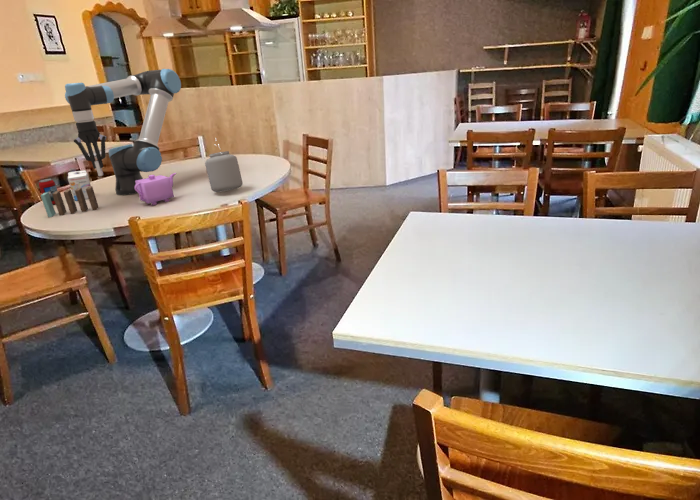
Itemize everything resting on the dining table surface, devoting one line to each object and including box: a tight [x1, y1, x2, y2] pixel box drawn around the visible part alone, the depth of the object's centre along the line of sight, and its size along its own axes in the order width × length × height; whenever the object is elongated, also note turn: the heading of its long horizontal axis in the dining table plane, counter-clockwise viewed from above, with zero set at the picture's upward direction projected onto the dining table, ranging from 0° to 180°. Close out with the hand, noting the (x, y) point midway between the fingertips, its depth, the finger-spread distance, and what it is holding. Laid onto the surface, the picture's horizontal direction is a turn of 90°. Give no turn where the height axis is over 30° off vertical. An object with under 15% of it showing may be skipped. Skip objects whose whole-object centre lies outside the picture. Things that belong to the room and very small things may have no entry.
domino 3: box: [63, 188, 78, 215], centre depth 203 cm, size 2×5×10 cm, turn 16°
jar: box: [204, 137, 244, 193], centre depth 212 cm, size 19×15×25 cm
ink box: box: [67, 170, 92, 202], centre depth 227 cm, size 9×8×13 cm
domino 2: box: [52, 190, 67, 216], centre depth 202 cm, size 2×5×10 cm, turn 16°
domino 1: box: [40, 192, 57, 218], centre depth 201 cm, size 2×5×10 cm, turn 16°
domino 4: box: [75, 188, 89, 213], centre depth 204 cm, size 2×5×10 cm, turn 16°
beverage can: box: [38, 178, 58, 206], centre depth 220 cm, size 7×7×12 cm
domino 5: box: [86, 185, 100, 211], centre depth 205 cm, size 2×5×10 cm, turn 16°
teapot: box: [135, 172, 177, 206], centre depth 208 cm, size 20×10×12 cm, turn 134°
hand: (101, 175), depth 202 cm, fingers closed
